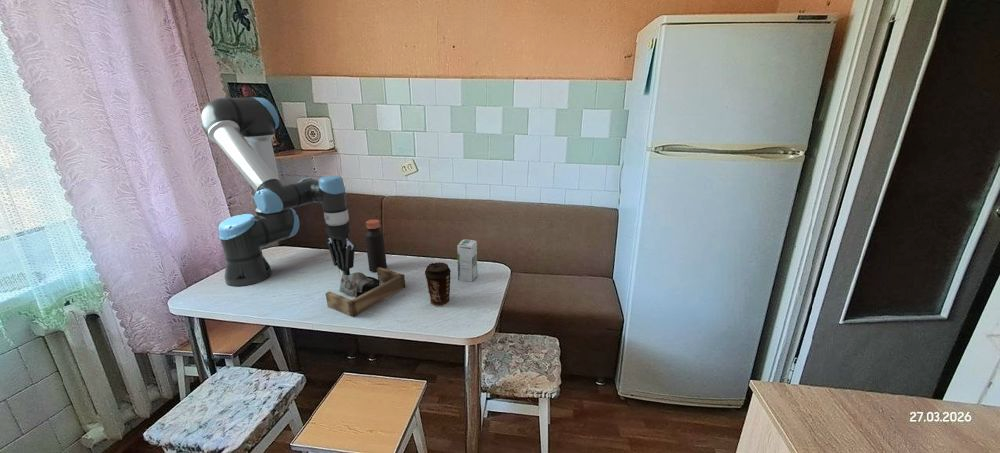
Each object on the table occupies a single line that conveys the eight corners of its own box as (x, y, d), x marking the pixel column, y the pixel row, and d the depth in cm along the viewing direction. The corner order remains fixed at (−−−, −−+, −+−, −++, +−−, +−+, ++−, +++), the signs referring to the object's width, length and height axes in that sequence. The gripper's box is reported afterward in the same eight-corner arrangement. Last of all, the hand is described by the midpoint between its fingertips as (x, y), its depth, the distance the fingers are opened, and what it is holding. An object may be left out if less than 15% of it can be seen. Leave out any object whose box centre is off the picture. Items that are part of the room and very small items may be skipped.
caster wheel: (382, 292, 143) (366, 302, 134) (355, 282, 146) (338, 291, 136) (385, 275, 142) (369, 284, 132) (358, 266, 144) (340, 274, 134)
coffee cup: (430, 294, 137) (427, 260, 132) (453, 295, 136) (452, 260, 132) (424, 308, 129) (421, 272, 124) (450, 308, 128) (448, 272, 124)
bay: (327, 306, 130) (325, 293, 128) (381, 279, 148) (379, 267, 147) (353, 317, 124) (351, 303, 122) (405, 287, 142) (404, 274, 140)
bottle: (386, 272, 154) (381, 223, 147) (368, 273, 152) (362, 224, 146) (387, 264, 160) (382, 218, 154) (369, 266, 159) (364, 219, 152)
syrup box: (463, 273, 152) (461, 238, 147) (477, 275, 151) (476, 240, 146) (457, 280, 147) (456, 244, 142) (472, 282, 145) (471, 245, 141)
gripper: (315, 222, 133) (325, 284, 141) (340, 228, 127) (350, 294, 135) (334, 216, 139) (343, 276, 147) (359, 222, 133) (367, 285, 141)
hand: (346, 284), depth 141 cm, fingers closed
